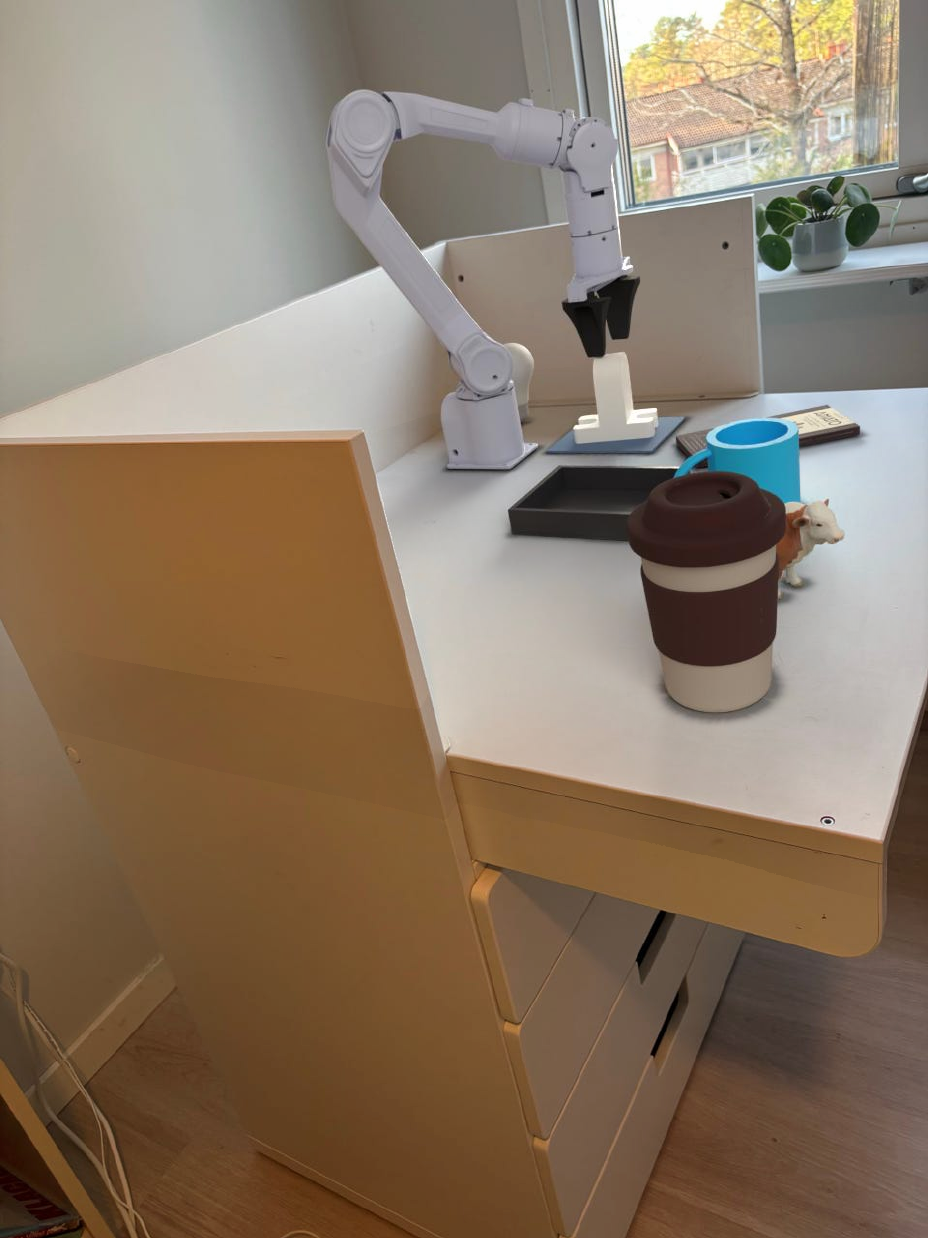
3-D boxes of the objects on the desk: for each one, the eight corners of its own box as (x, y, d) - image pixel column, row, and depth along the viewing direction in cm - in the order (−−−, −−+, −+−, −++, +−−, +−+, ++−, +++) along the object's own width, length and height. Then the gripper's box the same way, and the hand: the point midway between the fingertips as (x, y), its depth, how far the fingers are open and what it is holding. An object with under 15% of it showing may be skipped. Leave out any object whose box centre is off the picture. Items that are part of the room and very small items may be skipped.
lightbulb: (513, 432, 127) (499, 352, 122) (492, 424, 132) (477, 347, 127) (550, 418, 129) (538, 339, 124) (528, 411, 134) (515, 335, 129)
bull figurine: (842, 609, 71) (842, 512, 68) (671, 600, 78) (661, 511, 74) (850, 582, 75) (849, 488, 71) (684, 576, 81) (676, 489, 77)
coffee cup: (631, 720, 64) (605, 523, 57) (664, 646, 72) (644, 463, 65) (781, 733, 60) (772, 521, 53) (800, 652, 67) (794, 457, 60)
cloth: (546, 453, 117) (546, 450, 117) (585, 420, 125) (585, 418, 125) (652, 453, 109) (651, 450, 109) (685, 418, 118) (685, 416, 118)
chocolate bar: (675, 435, 110) (827, 404, 109) (676, 443, 110) (827, 412, 109) (696, 459, 102) (860, 426, 101) (696, 467, 102) (859, 434, 101)
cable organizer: (653, 437, 113) (644, 355, 109) (574, 443, 117) (562, 365, 112) (659, 422, 118) (651, 343, 113) (582, 429, 121) (572, 353, 116)
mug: (782, 490, 93) (779, 411, 89) (814, 520, 86) (812, 435, 82) (664, 515, 93) (655, 437, 89) (686, 547, 86) (678, 464, 82)
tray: (512, 534, 97) (507, 509, 95) (562, 488, 105) (558, 465, 104) (650, 542, 88) (647, 515, 87) (692, 491, 97) (690, 466, 96)
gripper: (601, 239, 102) (615, 362, 108) (649, 215, 112) (660, 329, 118) (544, 247, 105) (561, 365, 112) (595, 223, 116) (608, 332, 122)
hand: (608, 347), depth 115 cm, fingers open, 7 cm apart
